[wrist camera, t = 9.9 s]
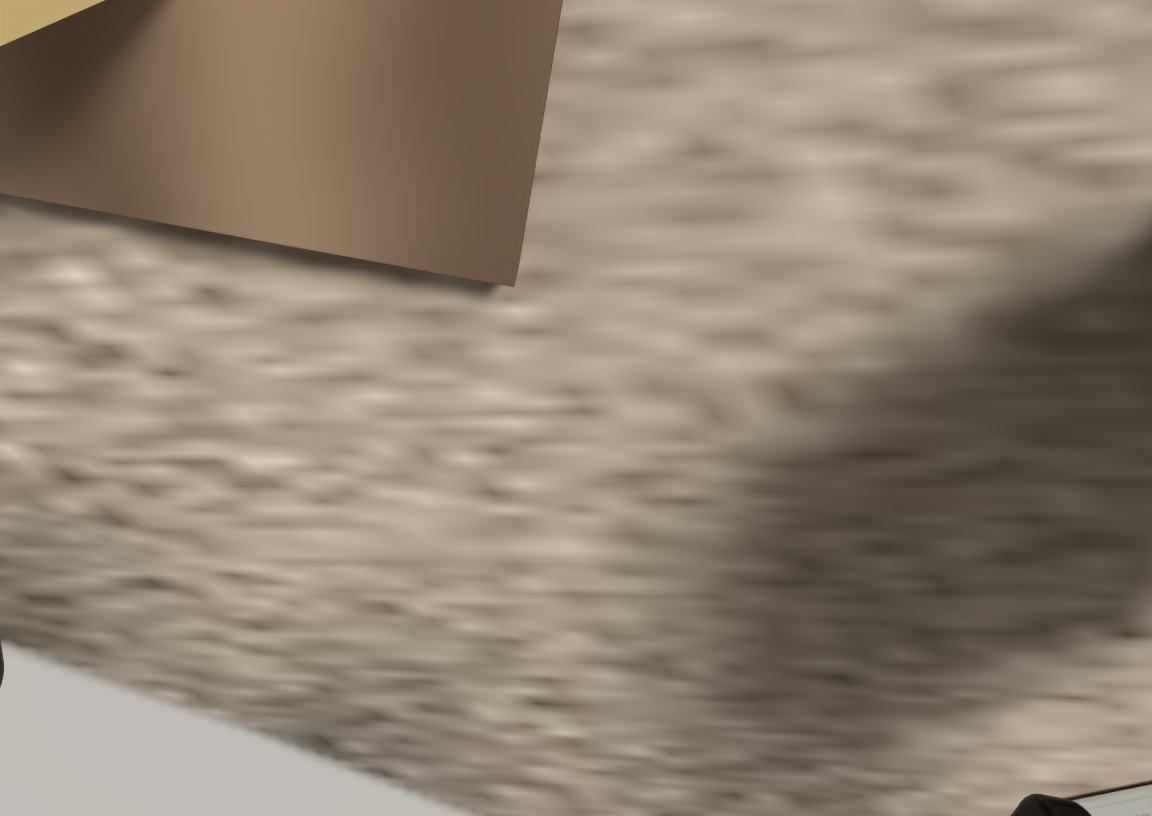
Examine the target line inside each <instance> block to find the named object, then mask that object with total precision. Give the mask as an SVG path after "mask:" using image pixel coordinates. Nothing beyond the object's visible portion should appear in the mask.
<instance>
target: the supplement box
mask: <svg viewBox="0 0 1152 816" xmlns="http://www.w3.org/2000/svg"><path fill="white" fill-rule="evenodd" d="M1072 801H1074V802H1076V803H1078V804H1080V805H1081V806H1082V807H1084V808H1085V809H1086V810H1087V811H1088V812H1089V813H1090V814H1091V815H1092V816H1152V784H1151V785H1146V786H1141V787H1136V788H1131V789H1126V790H1121V791H1116V792H1111V793H1106V794H1101V795H1096V796H1091V797H1086V798H1081V799H1076V800H1072Z"/></svg>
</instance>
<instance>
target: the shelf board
mask: <svg viewBox="0 0 1152 816" xmlns="http://www.w3.org/2000/svg"><path fill="white" fill-rule="evenodd" d="M562 2H563V0H104V1H102V2H100V3H97V4H95V5H93V6H91V7H88V8H86V9H84V10H82V11H79V12H77V13H75V14H72V15H70V16H68V17H66V18H63V19H61V20H59V21H56V22H54V23H52V24H50V25H47V26H45V27H43V28H40V29H38V30H36V31H34V32H31V33H29V34H27V35H25V36H22V37H20V38H18V39H15V40H13V41H11V42H9V43H6V44H4V45H2V46H0V193H2V194H8V195H13V196H19V197H24V198H30V199H35V200H41V201H46V202H52V203H57V204H62V205H68V206H73V207H79V208H84V209H90V210H95V211H101V212H106V213H112V214H117V215H123V216H128V217H134V218H139V219H144V220H150V221H155V222H161V223H166V224H172V225H177V226H183V227H188V228H194V229H199V230H205V231H210V232H216V233H221V234H227V235H232V236H237V237H243V238H248V239H254V240H259V241H265V242H270V243H276V244H281V245H287V246H292V247H298V248H303V249H309V250H314V251H319V252H325V253H330V254H336V255H341V256H347V257H352V258H358V259H363V260H369V261H374V262H380V263H385V264H391V265H396V266H402V267H407V268H412V269H418V270H423V271H429V272H434V273H440V274H445V275H451V276H456V277H462V278H467V279H473V280H478V281H484V282H489V283H494V284H500V285H505V286H511V287H514V286H515V281H516V277H517V272H518V267H519V262H520V256H521V250H522V244H523V238H524V232H525V226H526V219H527V213H528V207H529V201H530V195H531V189H532V183H533V177H534V171H535V165H536V159H537V153H538V147H539V141H540V135H541V129H542V123H543V117H544V111H545V105H546V99H547V93H548V86H549V80H550V74H551V68H552V62H553V56H554V50H555V44H556V38H557V32H558V26H559V20H560V14H561V8H562Z"/></svg>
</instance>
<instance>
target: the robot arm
mask: <svg viewBox="0 0 1152 816" xmlns="http://www.w3.org/2000/svg"><path fill="white" fill-rule="evenodd" d="M3 674H4V661H3V654H2V647H1V640H0V686H1V683H2V679H3ZM1011 816H1092V815H1091V814H1090V813H1089V812H1088V811H1087V810H1086V809H1085V808H1084V807H1082V806H1081V805H1080V804H1078V803H1076V802H1074V801H1072V800H1068V799H1064V798H1058V797H1053V796H1048V795H1042V794H1031V795H1029V796H1027V797H1025V798H1024V799H1023V800H1022V801H1021V802H1020V804H1019V805H1018V807H1017V808H1016V809H1015V811H1014V812H1013V813H1012V815H1011Z"/></svg>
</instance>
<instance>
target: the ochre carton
mask: <svg viewBox="0 0 1152 816" xmlns="http://www.w3.org/2000/svg"><path fill="white" fill-rule="evenodd" d="M102 1H104V0H0V46H2V45H4V44H6V43H9V42H11V41H13V40H15V39H18V38H20V37H22V36H25V35H27V34H29V33H31V32H34V31H36V30H38V29H40V28H43V27H45V26H47V25H50V24H52V23H54V22H56V21H59V20H61V19H63V18H66V17H68V16H70V15H72V14H75V13H77V12H79V11H82V10H84V9H86V8H88V7H91V6H93V5H95V4H97V3H100V2H102Z"/></svg>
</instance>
